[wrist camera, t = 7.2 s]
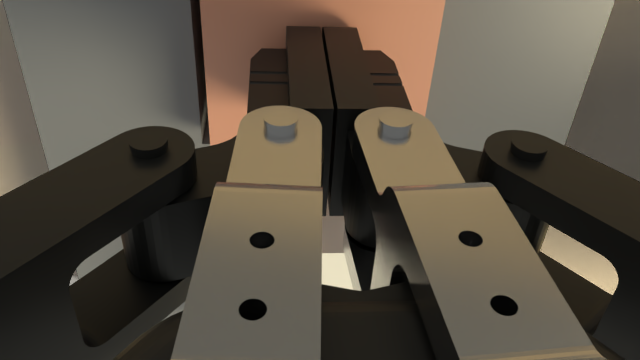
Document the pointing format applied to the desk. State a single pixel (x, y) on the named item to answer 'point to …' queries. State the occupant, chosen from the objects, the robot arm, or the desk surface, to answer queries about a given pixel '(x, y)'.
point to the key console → (190, 85)
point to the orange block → (321, 11)
